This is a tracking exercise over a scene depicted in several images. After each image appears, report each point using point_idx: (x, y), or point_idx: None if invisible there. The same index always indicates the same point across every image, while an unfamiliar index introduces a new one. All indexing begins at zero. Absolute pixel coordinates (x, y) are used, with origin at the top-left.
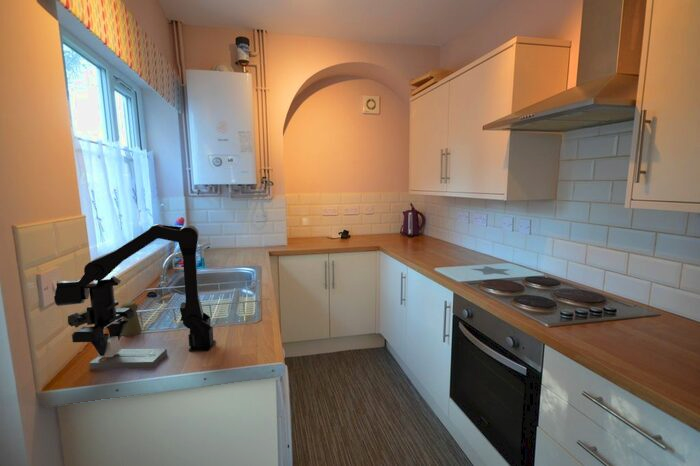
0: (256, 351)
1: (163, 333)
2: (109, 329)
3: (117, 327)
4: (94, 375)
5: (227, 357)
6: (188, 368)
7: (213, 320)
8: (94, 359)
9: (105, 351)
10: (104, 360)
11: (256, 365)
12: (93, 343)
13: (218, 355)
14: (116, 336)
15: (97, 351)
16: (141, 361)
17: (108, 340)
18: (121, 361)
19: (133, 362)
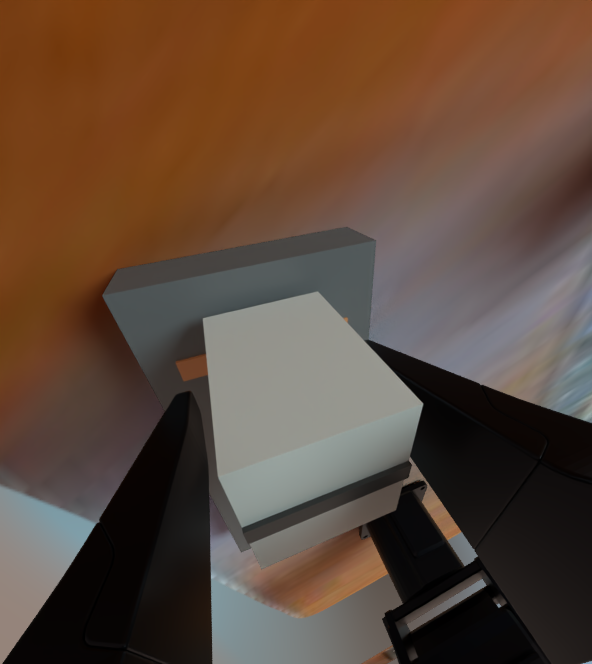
0: (350, 581)
1: (552, 325)
2: (561, 495)
3: (540, 584)
4: (65, 377)
5: (323, 573)
6: (257, 569)
7: (575, 407)
8: (179, 286)
9: (204, 455)
10: (190, 380)
11: (290, 615)
12: (39, 648)
13: (334, 558)
14: (396, 502)
15: (146, 442)
16: (235, 527)
17: (292, 534)
18: (210, 472)
19: (219, 511)
